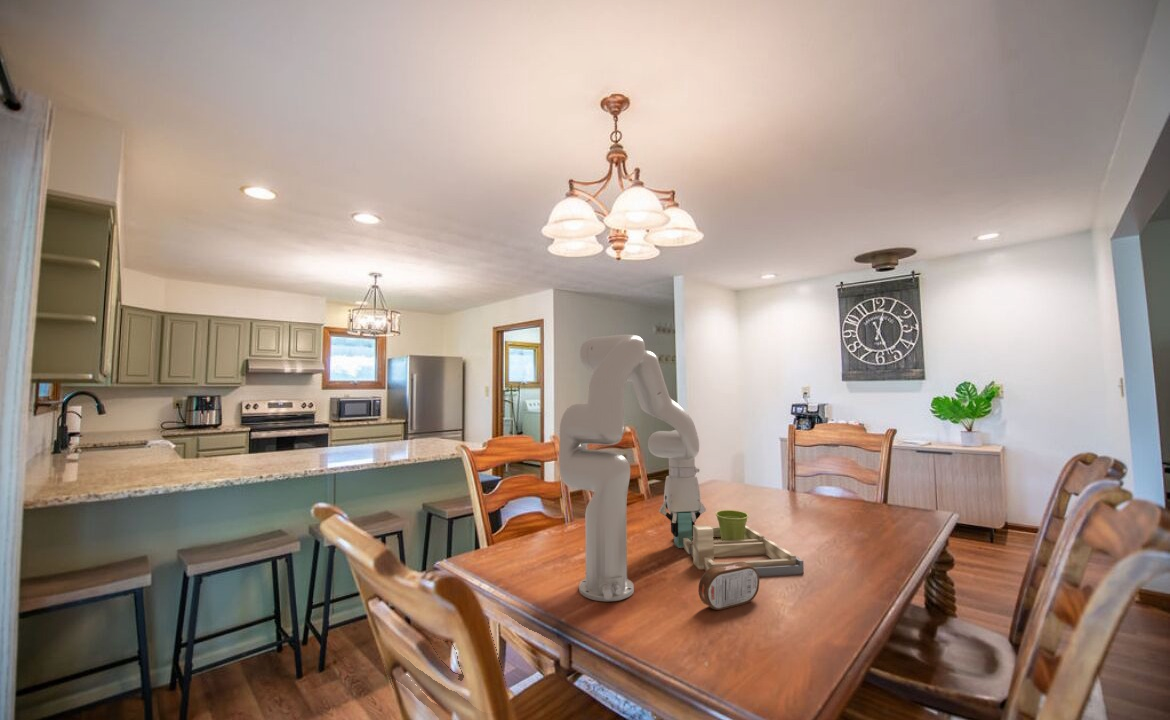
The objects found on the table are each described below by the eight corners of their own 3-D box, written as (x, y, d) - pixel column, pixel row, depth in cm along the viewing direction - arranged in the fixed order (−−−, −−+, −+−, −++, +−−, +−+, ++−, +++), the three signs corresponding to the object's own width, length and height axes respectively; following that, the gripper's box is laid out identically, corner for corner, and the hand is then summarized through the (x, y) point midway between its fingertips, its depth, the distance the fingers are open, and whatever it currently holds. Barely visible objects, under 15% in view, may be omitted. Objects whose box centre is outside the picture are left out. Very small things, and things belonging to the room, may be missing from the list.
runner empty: (796, 572, 120) (795, 531, 120) (706, 577, 117) (706, 535, 117) (767, 552, 134) (766, 516, 135) (686, 556, 131) (686, 519, 132)
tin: (752, 595, 107) (751, 557, 107) (762, 601, 104) (761, 561, 104) (697, 609, 100) (696, 568, 101) (707, 615, 97) (706, 573, 98)
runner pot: (764, 550, 136) (763, 514, 136) (684, 554, 133) (684, 518, 133) (741, 535, 150) (740, 502, 150) (669, 538, 147) (668, 505, 147)
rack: (804, 573, 119) (804, 561, 119) (714, 579, 116) (714, 566, 116) (744, 534, 151) (744, 524, 151) (673, 537, 148) (672, 527, 148)
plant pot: (742, 551, 135) (742, 520, 136) (711, 544, 141) (710, 514, 142) (753, 542, 143) (752, 513, 143) (723, 536, 149) (722, 508, 149)
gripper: (704, 469, 146) (705, 530, 145) (650, 470, 144) (651, 532, 143) (714, 473, 139) (715, 537, 138) (657, 475, 136) (658, 540, 135)
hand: (682, 534), depth 140 cm, fingers closed on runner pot, 4 cm apart
